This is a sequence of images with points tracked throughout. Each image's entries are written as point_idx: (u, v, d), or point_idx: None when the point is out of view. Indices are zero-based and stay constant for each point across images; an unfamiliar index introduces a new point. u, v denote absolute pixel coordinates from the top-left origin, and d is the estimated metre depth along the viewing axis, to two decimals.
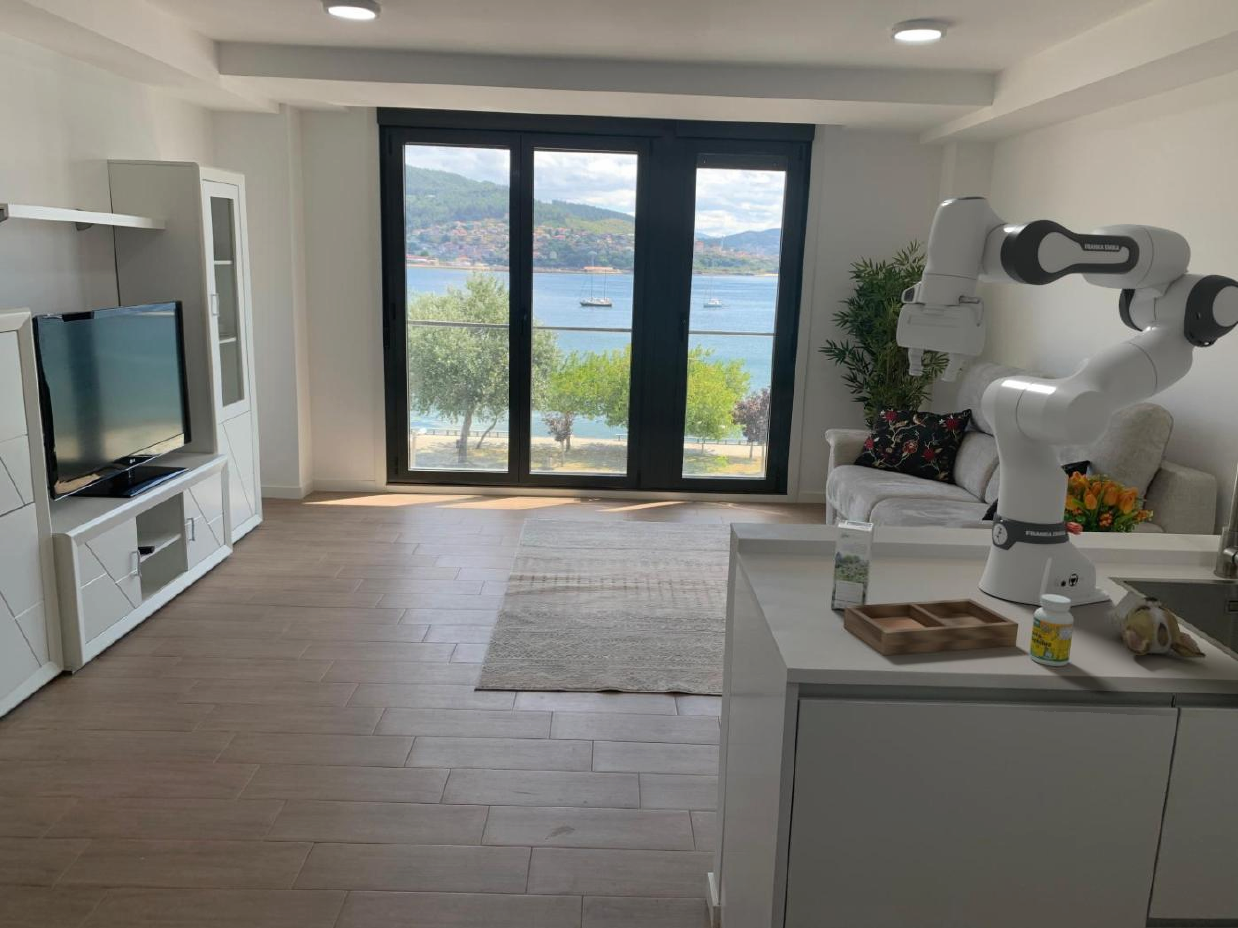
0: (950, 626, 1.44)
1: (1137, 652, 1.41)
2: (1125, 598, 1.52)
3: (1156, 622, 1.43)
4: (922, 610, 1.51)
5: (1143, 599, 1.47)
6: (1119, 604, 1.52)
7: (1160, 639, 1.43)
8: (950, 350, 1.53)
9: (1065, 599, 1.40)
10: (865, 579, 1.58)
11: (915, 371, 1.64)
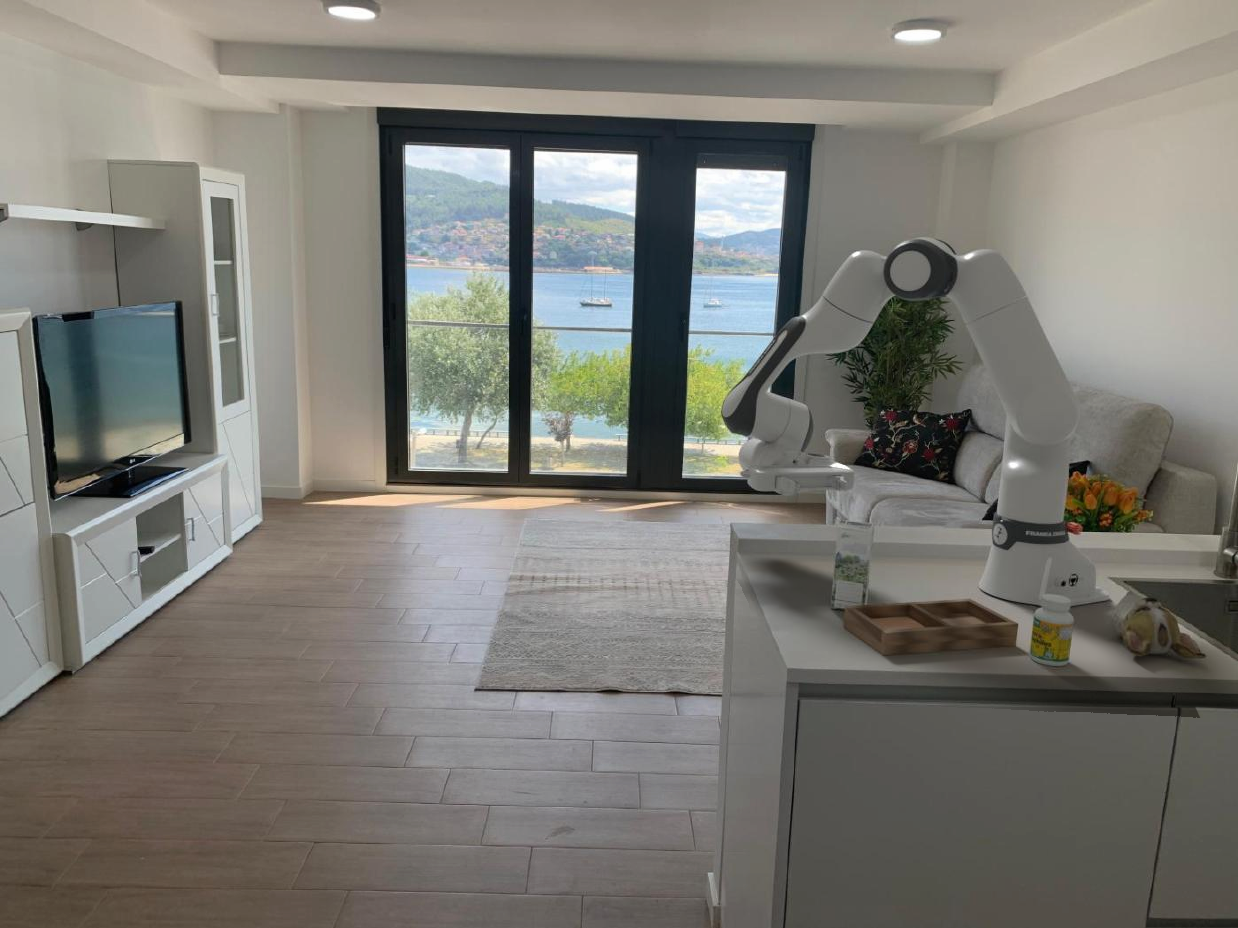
0: (950, 626, 1.44)
1: (1138, 653, 1.41)
2: (1125, 599, 1.52)
3: (1156, 623, 1.43)
4: (922, 610, 1.51)
5: (1143, 600, 1.47)
6: (1119, 605, 1.51)
7: (1160, 640, 1.43)
8: (775, 490, 1.74)
9: (1065, 599, 1.39)
10: (865, 579, 1.58)
11: (838, 488, 1.73)
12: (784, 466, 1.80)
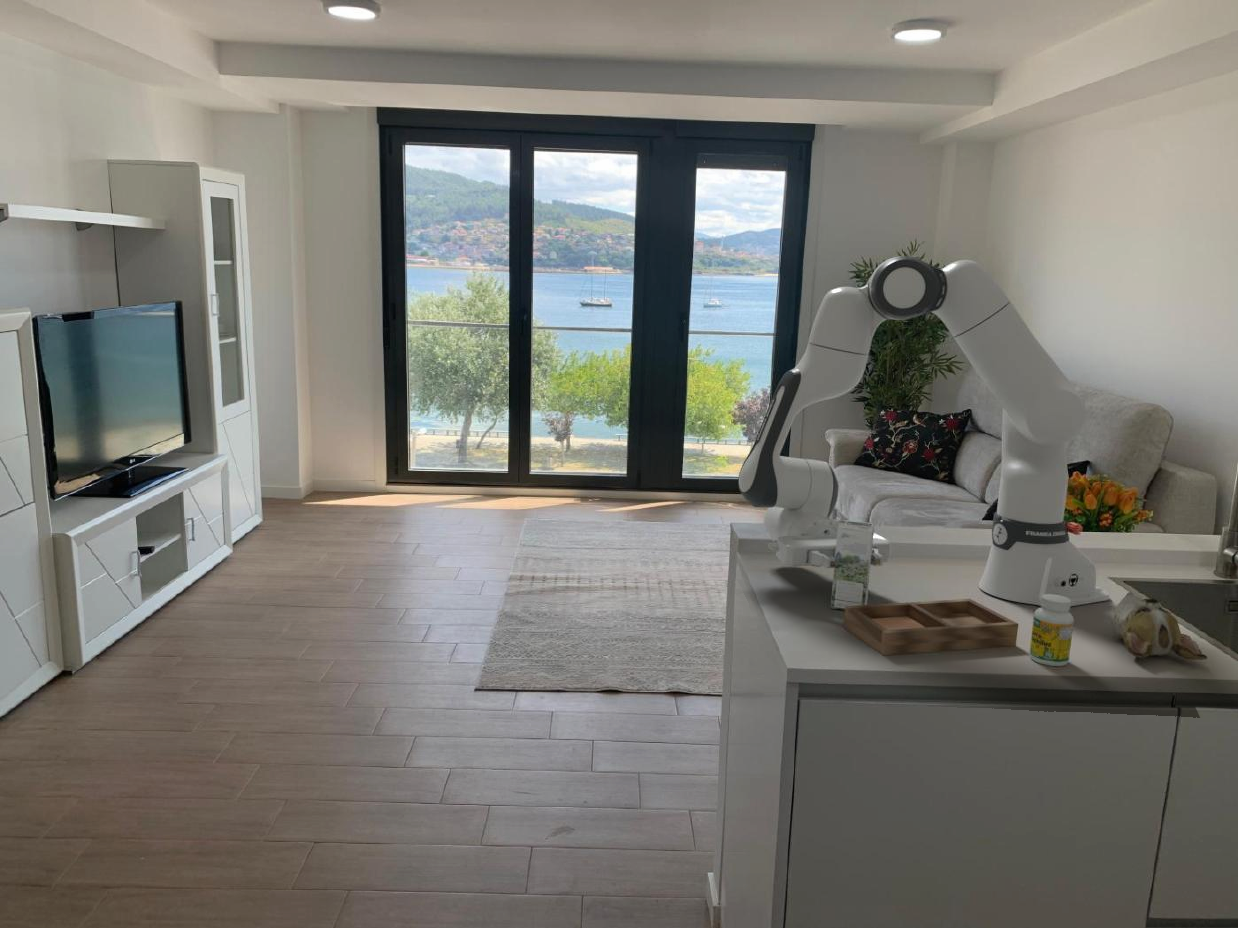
0: (950, 626, 1.44)
1: (1139, 654, 1.40)
2: (1124, 600, 1.51)
3: (1157, 624, 1.42)
4: (922, 610, 1.51)
5: (1143, 601, 1.46)
6: (1119, 606, 1.51)
7: (1161, 641, 1.42)
8: (806, 565, 1.63)
9: (1065, 599, 1.40)
10: (865, 579, 1.58)
11: (873, 563, 1.62)
12: (815, 537, 1.69)
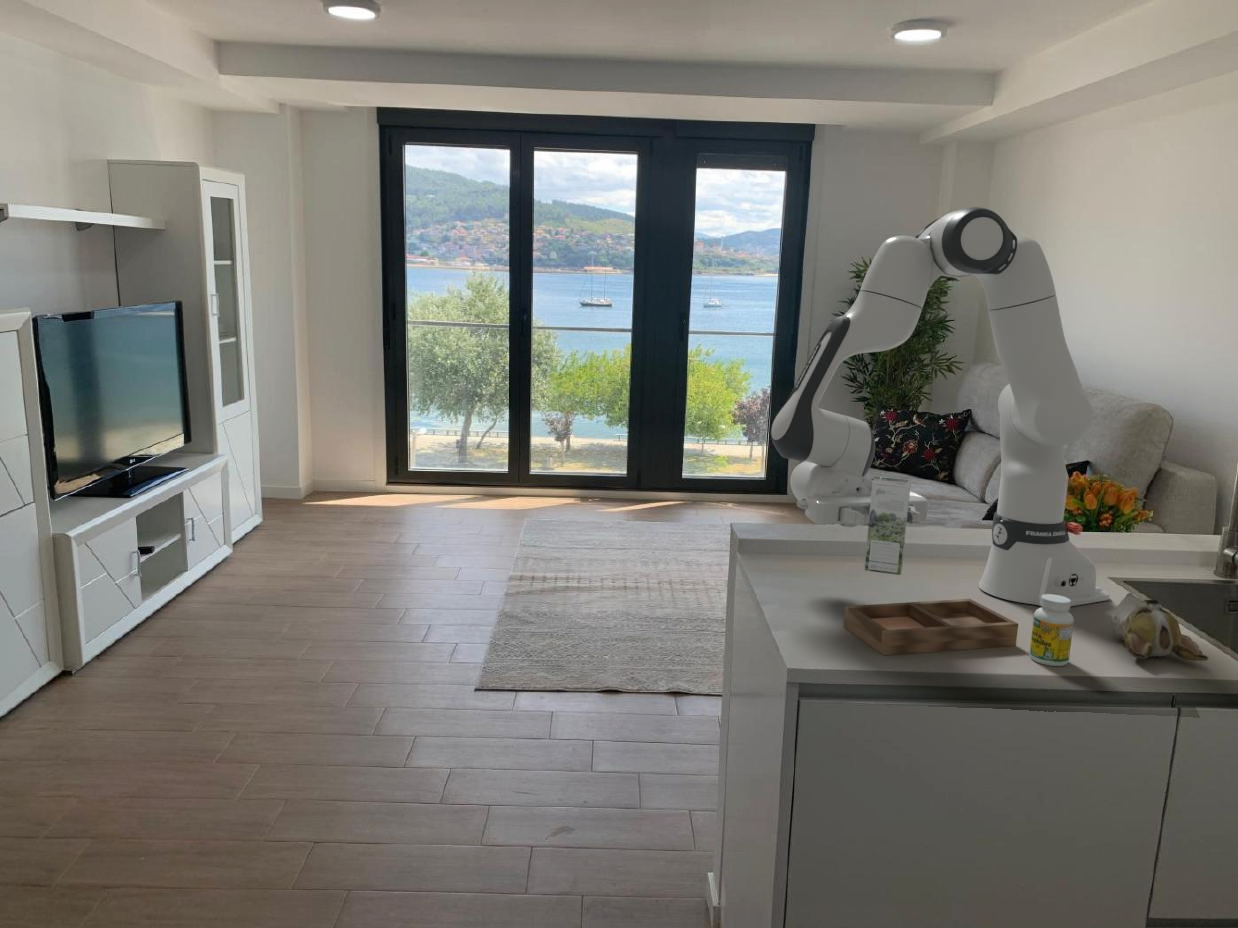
0: (950, 626, 1.44)
1: (1140, 655, 1.40)
2: (1125, 600, 1.51)
3: (1158, 625, 1.42)
4: (922, 610, 1.51)
5: (1144, 602, 1.46)
6: (1119, 607, 1.50)
7: (1162, 642, 1.42)
8: (838, 523, 1.52)
9: (1065, 599, 1.40)
10: (902, 538, 1.47)
11: (909, 521, 1.51)
12: (846, 494, 1.58)
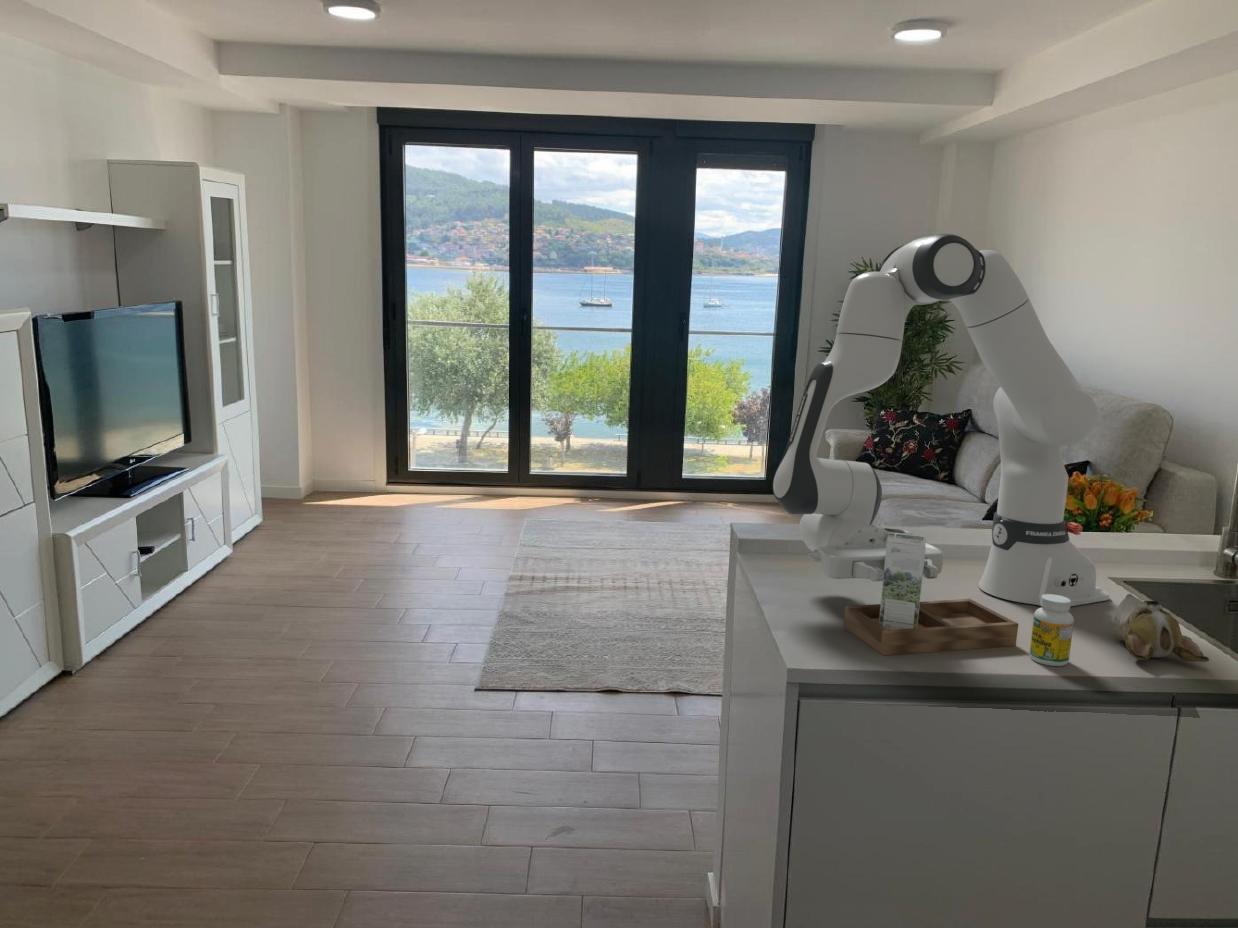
0: (950, 626, 1.44)
1: (1141, 657, 1.39)
2: (1125, 601, 1.50)
3: (1159, 626, 1.41)
4: (922, 610, 1.51)
5: (1144, 603, 1.46)
6: (1119, 608, 1.50)
7: (1163, 644, 1.41)
8: None
9: (1065, 599, 1.40)
10: (917, 598, 1.43)
11: (927, 575, 1.47)
12: (860, 546, 1.54)
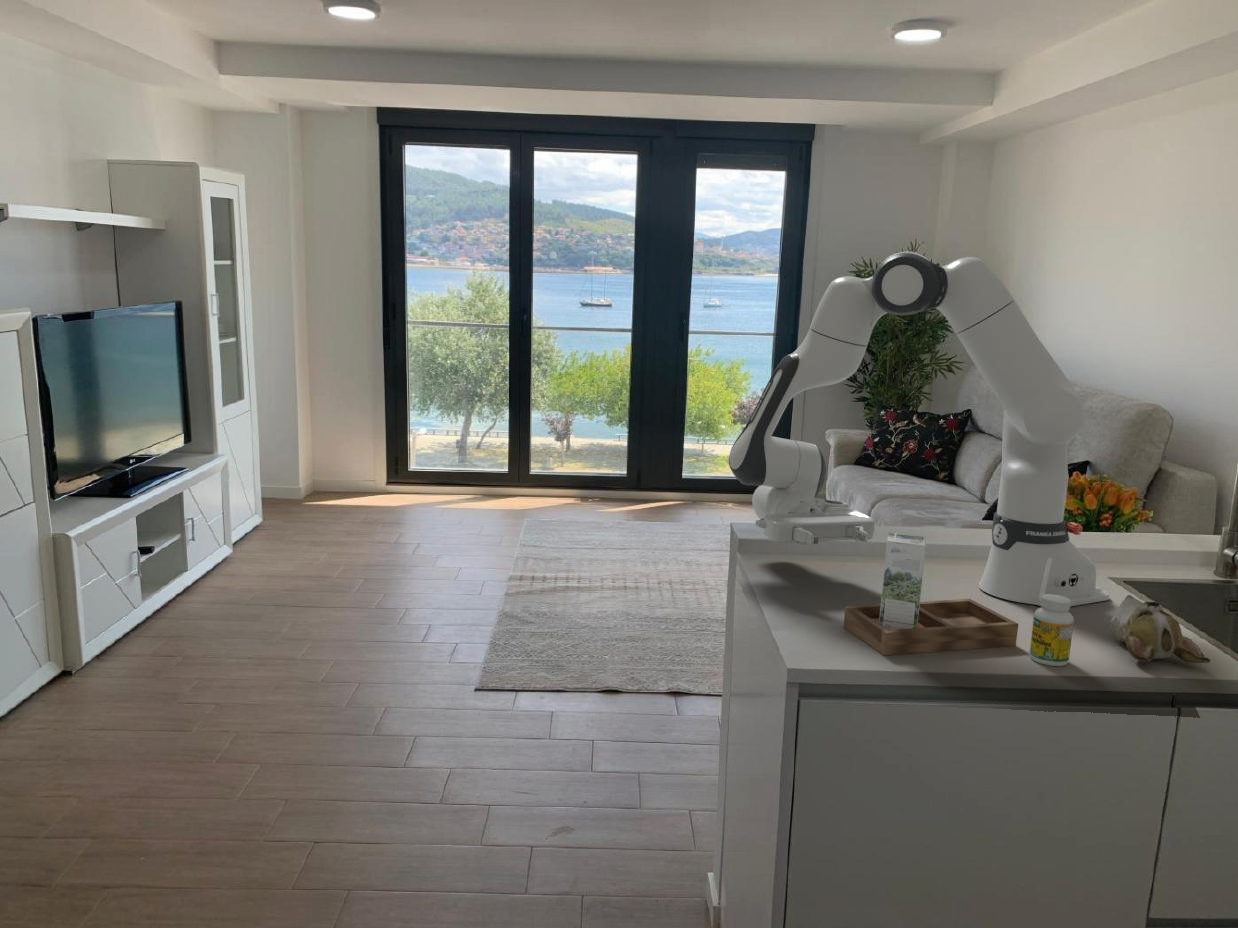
0: (950, 626, 1.44)
1: (1142, 659, 1.39)
2: (1124, 603, 1.50)
3: (1160, 628, 1.41)
4: (922, 610, 1.51)
5: (1144, 604, 1.45)
6: (1119, 609, 1.49)
7: (1164, 645, 1.41)
8: None
9: (1065, 599, 1.40)
10: (917, 598, 1.43)
11: (858, 540, 1.67)
12: (801, 515, 1.73)
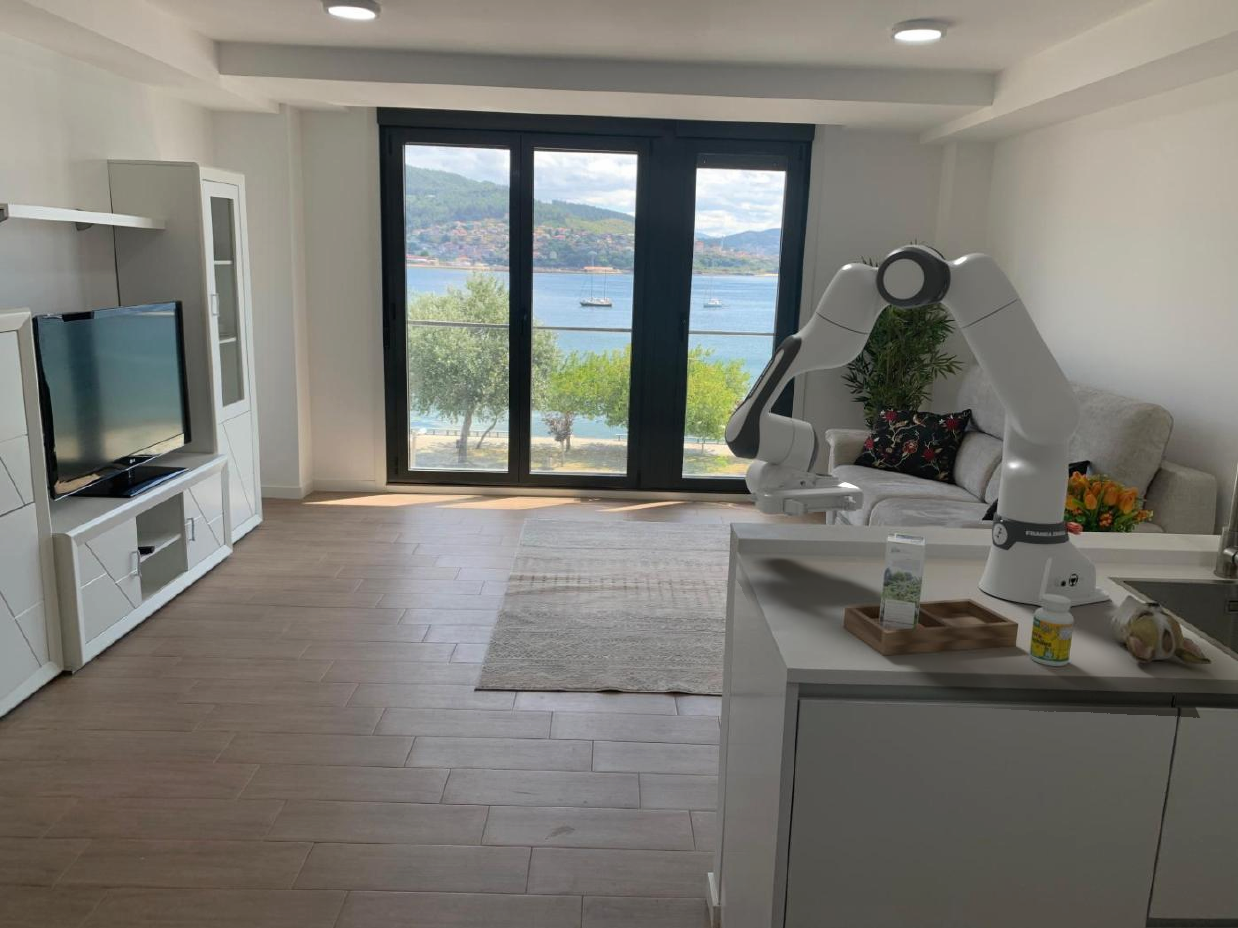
0: (950, 626, 1.44)
1: (1143, 660, 1.38)
2: (1125, 603, 1.49)
3: (1160, 628, 1.40)
4: (922, 610, 1.51)
5: (1145, 604, 1.45)
6: (1119, 609, 1.49)
7: (1165, 646, 1.40)
8: (783, 513, 1.73)
9: (1065, 599, 1.40)
10: (917, 598, 1.43)
11: (847, 509, 1.71)
12: (792, 488, 1.78)
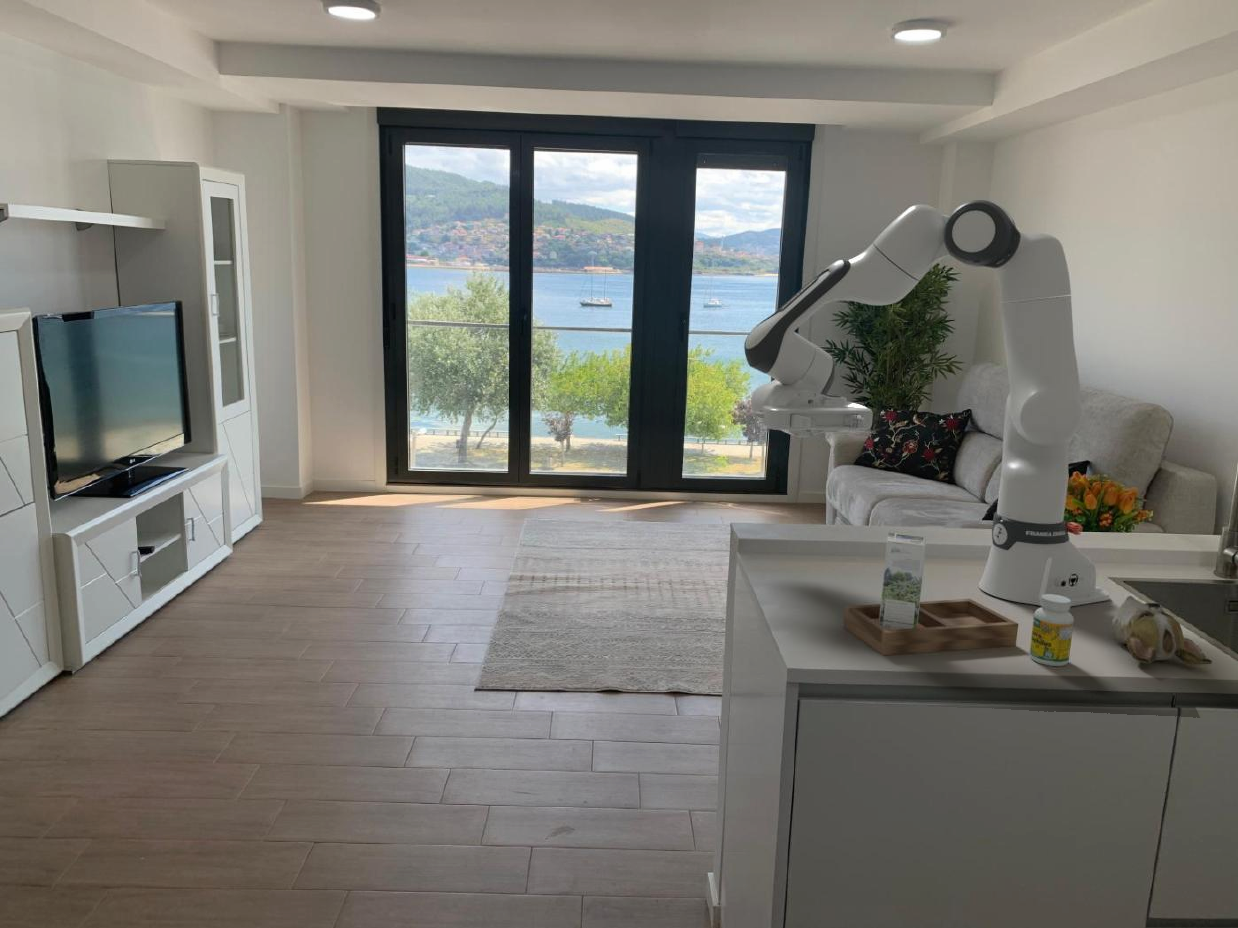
0: (950, 626, 1.44)
1: (1144, 660, 1.38)
2: (1125, 604, 1.49)
3: (1161, 629, 1.40)
4: (922, 610, 1.51)
5: (1146, 605, 1.44)
6: (1120, 610, 1.49)
7: (1165, 646, 1.40)
8: (790, 429, 1.69)
9: (1065, 599, 1.40)
10: (917, 598, 1.43)
11: (855, 426, 1.67)
12: (799, 406, 1.74)
